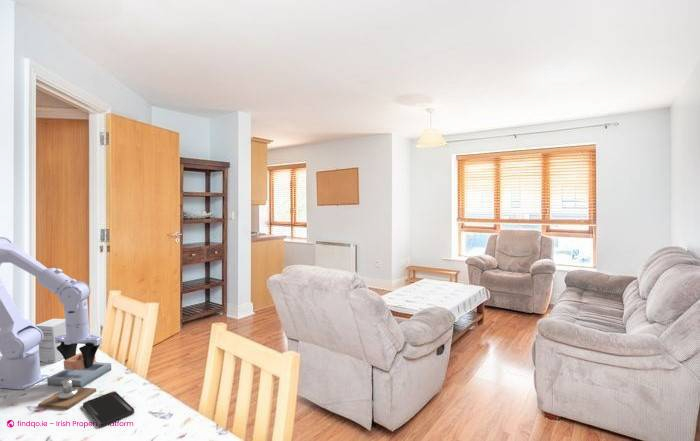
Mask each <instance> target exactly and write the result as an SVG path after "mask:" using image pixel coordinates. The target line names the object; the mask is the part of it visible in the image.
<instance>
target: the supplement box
mask: <svg viewBox="0 0 700 441" xmlns="http://www.w3.org/2000/svg"><path fill="white" fill-rule="evenodd" d="M34 325H35V326H36V327H37V328H39V329H40V330H41V331H42V332H43V340H42V342H41V343H40V344H39V358H40V361H42V362H41V363H50V362H53V363H57V362H60V361H61V360H64V357H63V356H62V354H61V353H60V352H59V351H58V350H57V346H60V344H61V343H55V337H57V336H59V335H66V326H65V318H51V319H49V320H46V321H43V322H41V323H37V324H34Z"/></svg>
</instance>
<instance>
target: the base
mask: <svg viewBox="0 0 700 441" xmlns="http://www.w3.org/2000/svg"><path fill="white" fill-rule="evenodd" d="M72 388H78V395H77V396H75V397H73V398H71V399H68V400H58V393H59V392H60V391H58V392H57V393H55V394H53V395H51V396H49V397H48V398H46V399H44V400H42V401H41V402H39V403H38V404H37V406H38V408H48V409H60V410H70V409H71V408H72V407H75V405H77V404H79V403H80V402H82V401H83V400H85V399H87V398H88V397H89V396H91V395H93V394H94V393H96V392H97V388H95V387H94V388H93V387H72Z"/></svg>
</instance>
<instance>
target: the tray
mask: <svg viewBox="0 0 700 441" xmlns="http://www.w3.org/2000/svg"><path fill="white" fill-rule="evenodd" d="M110 371H112V362H111V363H110V362H97V361H96V362H94V363H93V366H91V367H89V368H83V369H82V370H70V369H63V370H60V371H58V372H56V373H55V374H52V375H51V376H49V377H47V378H46V380H47V382H46V383H47V386H48V387H49V386H51V387H61V388H63V384H62V382H61V381H63V380H65V379H67V378H69V377H73V379H72V387H83V388H85V386H87V385H89V384H91V383H92V382H94V381H96V380H97V379H99V378H101V377H102V376H104V375H105V374H107V373H109V372H110Z"/></svg>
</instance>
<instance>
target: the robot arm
mask: <svg viewBox="0 0 700 441" xmlns="http://www.w3.org/2000/svg"><path fill="white" fill-rule="evenodd" d="M5 263H11V264H12V265H14V266H16V267H18V268H19V269H22V270H23V271H24V272H25V271H26V272H27V273H28V274H31V275H32V276H34V277H36V279H37V284H39V286H42V287H43V288H45V289H46V290H48V291H50V292H51V293H53V294H55V295H56V296H57V297H58V301H59V302H60V303H61V304H62V305H63V309H64V319H65V326H66V335H59V336H57V337H55V343H61V344H60V346H57V350H58V351H59V352H60V353H61V354H62V356H63V357H64V358H63V360H64V361H65V360H67V359H69V358H71V357H73V356H75V355H77V346H78V345H80V344H81V345H82V346H80V347H79V351H80V353H82V356H83V360H84V366H85V368H89V367H91V366H93V361H94V357H95V358H96V354H97V351H98V349H99V347H100V346H101V344H103V337H102V336H97V335H94V334H91V333H90V321H89V318H90V317H89V304H88V298H89V297H90V294H91V287H90V286H89V285H88V284H87V283H86V281H81V280H77V279H75V278H71V277H70V276H69V275H67V274H65V273H63V269H61V268H55V267H49V268H48V267H46V266H45V265H43V263H41V262H39V261H38V260H37V259H35V258H34V257H33V256H32V255H30V254H29V253H27V252H26V251H24V250H23V249H22V248H21V247H20V245H19V243H16V242H14V241H12V240H11V239H10V238H7V237H5V236H4V237H3V236H1V237H0V266H1V265H2V264H5ZM12 298H13V297H11V294H10V293H9V291H8V289H7V288H6V286H5V285H4V283H3V281H2V279H1V278H0V354H1V358H0V389H10V390H26V389H27V388H29V387H31V386H34V385H35V384H37V383H39V382H41V381H43V380H45V379H47V378H49V377H50V375H49V374H42V373H41V362H40V358H39V344H40V343H41V342H42V340H43V332H42V331H41V330H40V329H39V328H37V327H36V326H35V325H36V324H34V323H33V321H32V320H29V319H26V318H24V317H23V315H22V313H21V312H20V310H19V308H18V306H17V304H16V303H15V302H14V300H13V299H12Z"/></svg>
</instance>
